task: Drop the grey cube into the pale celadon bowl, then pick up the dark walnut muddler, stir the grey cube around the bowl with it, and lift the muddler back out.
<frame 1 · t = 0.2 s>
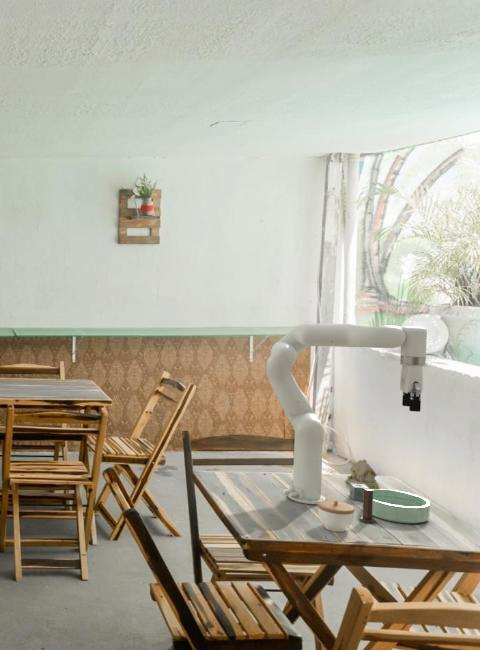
hand: (411, 408, 240), 37 cm above the table, tool pointing down, fingers open, 9 cm apart
trinket box: (334, 528, 224), on the table
ceramic model: (363, 484, 271), on the table
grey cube: (358, 499, 254), on the table
bowl: (395, 514, 237), on the table
muddler: (367, 521, 230), on the table
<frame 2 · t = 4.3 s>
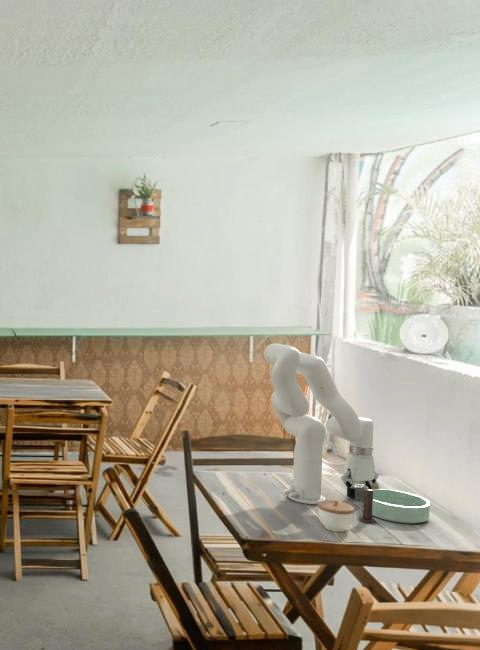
hand: (359, 496, 254), 1 cm above the table, tool pointing down, fingers closed on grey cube, 6 cm apart
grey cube: (358, 499, 254), on the table, touching gripper
everything else where it was.
when the fingers open (5 cm above the table, at t = 10.4 s): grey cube drops 3 cm, resting on bowl.
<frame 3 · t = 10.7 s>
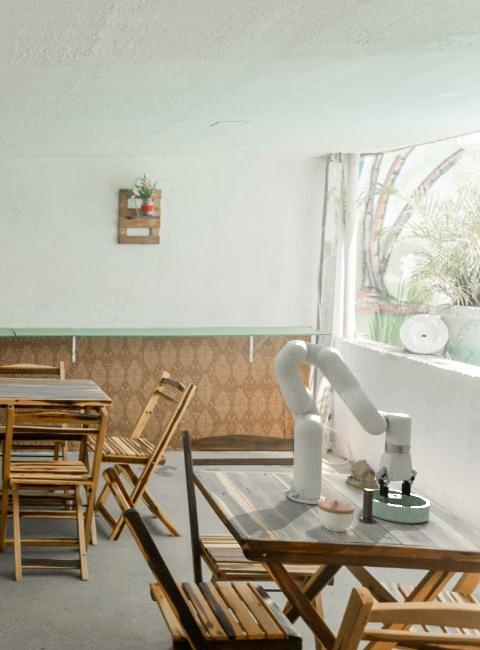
hand: (394, 495, 239), 6 cm above the table, tool pointing down, fingers open, 9 cm apart
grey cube: (394, 510, 240), point 1 cm above the table, touching bowl
everything else where it was.
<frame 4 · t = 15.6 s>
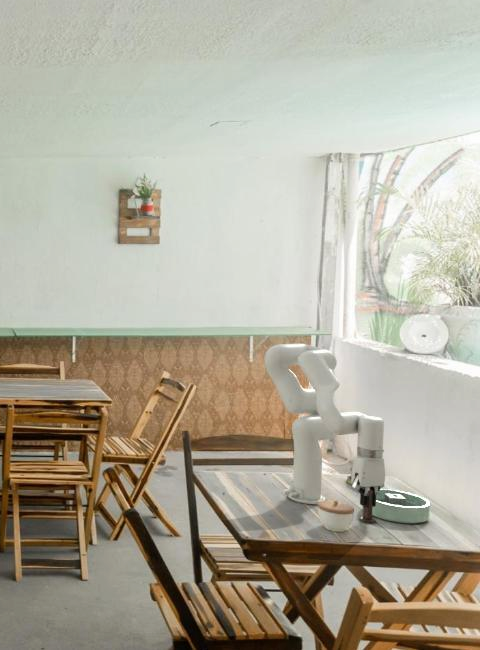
hand: (367, 505, 230), 6 cm above the table, tool pointing down, fingers closed on muddler, 2 cm apart
muddler: (367, 521, 230), on the table, touching gripper
everything else where it was.
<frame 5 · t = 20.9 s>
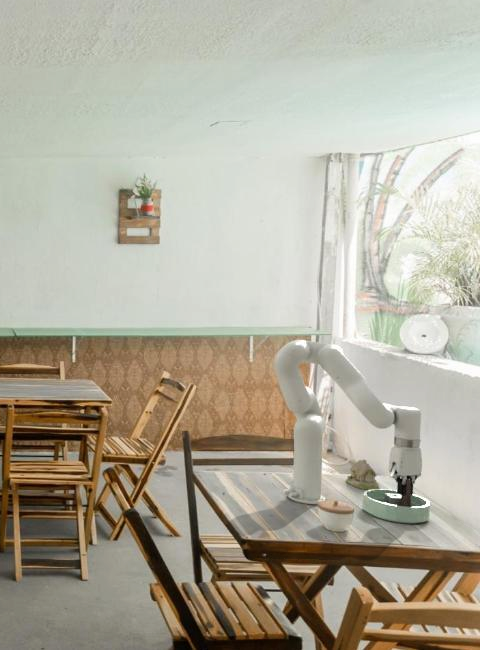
hand: (404, 494, 235), 8 cm above the table, tool pointing down, fingers closed on muddler, 2 cm apart
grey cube: (394, 510, 240), point 1 cm above the table
muddler: (405, 510, 235), point 2 cm above the table, touching gripper
everything else where it was.
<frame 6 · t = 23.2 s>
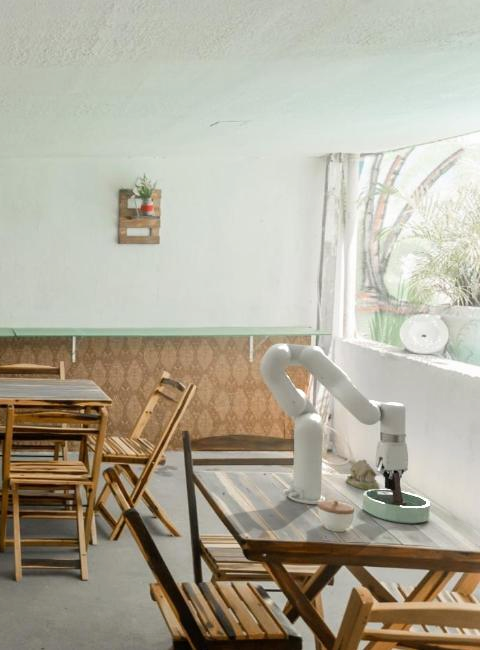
hand: (392, 488, 239), 9 cm above the table, tool pointing down, fingers closed on muddler, 2 cm apart
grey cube: (386, 507, 241), point 1 cm above the table, touching bowl, muddler
muddler: (399, 505, 236), point 4 cm above the table, tilted 14°, touching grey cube, gripper
everything else where it was.
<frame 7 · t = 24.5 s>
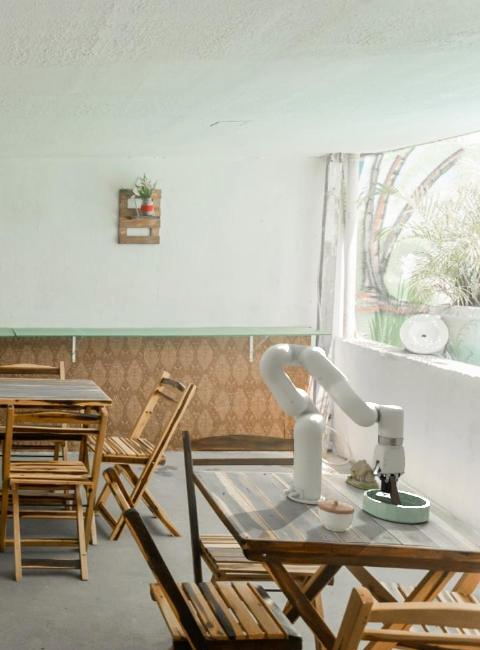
hand: (388, 491, 237), 8 cm above the table, tool pointing down, fingers closed on muddler, 2 cm apart
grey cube: (384, 508, 241), point 1 cm above the table, touching bowl
muddler: (397, 508, 234), point 3 cm above the table, tilted 20°, touching gripper
everything else where it was.
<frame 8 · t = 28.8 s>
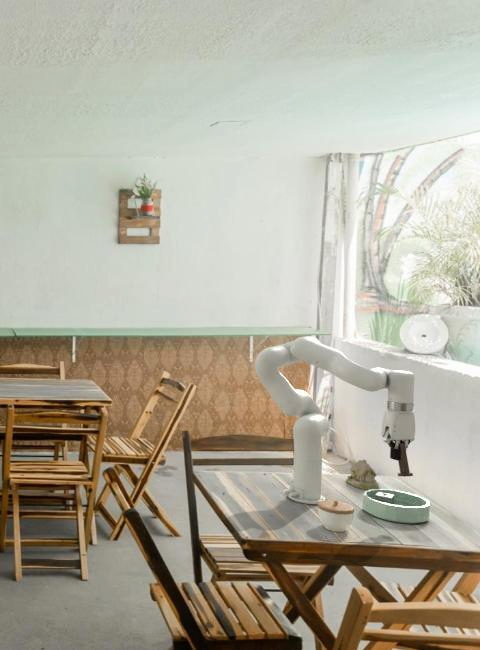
hand: (397, 458, 232), 21 cm above the table, tool pointing down, fingers closed on muddler
muddler: (405, 475, 229), point 16 cm above the table, tilted 14°, touching gripper
everything else where it was.
at the end: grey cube inside the target area in the bowl (4.1 cm from its centre), point 0.6 cm above the bowl's base; muddler point 16.0 cm above the table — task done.
